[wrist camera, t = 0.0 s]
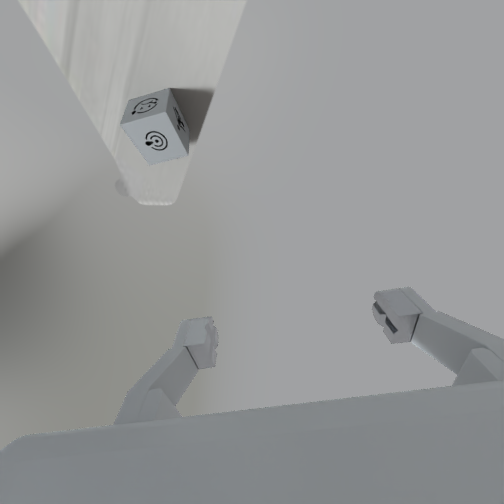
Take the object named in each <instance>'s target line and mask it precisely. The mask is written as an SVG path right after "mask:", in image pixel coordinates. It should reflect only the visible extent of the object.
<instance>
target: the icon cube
mask: <svg viewBox="0 0 504 504" xmlns="http://www.w3.org/2000/svg"><path fill="white" fill-rule="evenodd" d="M120 126H121V127H122V128H123V130H124V131H125V133H126V134H127V135H128V137H129V138H130V139H131V141H132V142H133V144H134V145H135V146H136V148H137V149H138V150H139V152H140V153H141V154H142V156H143V157H144V159H145V160H146V161H147V163H148V164H149V165H153V164H157V163H161V162H165V161H169V160H172V159H176V158H180V157H184V156H188V153H189V138H190V130H189V128H188V126H187V124H186V122H185V120H184V117H183V115H182V113H181V111H180V109H179V107H178V104H177V102H176V100H175V98H174V96H173V94H172V91H171V89H170V88H168V89H164V90H161V91H158V92H155V93H151V94H148V95H145V96H141V97H138V98H135V99H131V100H129V101H128V104H127V106H126V109H125V112H124V115H123V117H122V120H121V123H120Z"/></svg>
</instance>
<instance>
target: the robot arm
mask: <svg viewBox="0 0 504 504" xmlns="http://www.w3.org/2000/svg"><path fill="white" fill-rule="evenodd" d="M374 299H375V300H376V302H375V303H374V304H373V308H372V310H373V315H374V317H375V320H376V321H377V323H378V324H380V325H381V326H383V327H384V330H383V332H384V333H385V335H386V336H387V338H388V339H389V341H390V342H391V344H392V343H393V344H394V343H403V342H411V343H412V344H413V345H415V346H417V347H418V348H419V349H421V350H422V351H424V352H425V353H427V354H428V355H429V356H431V357H433V358H434V359H435V360H437V361H438V362H440V363H441V364H443V365H444V366H446V367H447V368H449V369H450V370H451V371H453V372H454V373H456V374H457V377H456V378H455V380H454V382H453V385H452V386H447V387H439V388H430V389H421V390H413V391H404V392H396V393H387V394H378V395H369V396H360V397H352V398H343V399H335V400H326V401H317V402H309V403H300V404H292V405H283V406H274V407H265V408H257V409H248V410H240V411H231V412H222V413H213V414H205V415H196V416H188V417H182V416H181V415H180V413H179V412H178V411H177V409H176V408H175V406H176V404H177V403H178V401H179V400H180V398H181V397H182V395H183V393H184V392H185V391H186V389H187V387H188V386H189V384H190V383H191V381H192V380H193V378H194V377H195V375H196V374H197V372H198V369H204V368H210V367H215V364H216V357H217V353H216V351H215V349H216V347H217V346H218V332H217V328H216V327H215V326H213V322H214V321H213V319H212V317H203V318H194V319H187V320H182V322H180V325H179V328H178V331H177V334H176V337H175V340H174V343H173V347H172V349H168V351H167V352H166V353H165V354H164V355H163V356H162V357H161V358H160V359H159V360H158V361H157V362H156V363H155V364H154V365H153V366H152V367H151V368H150V369H149V370H148V371H147V372H146V373H145V374H144V375H143V376H142V377H141V378H140V379H139V380H138V381H137V383H136V384H135V385H134V386H133V387H132V388H131V389H130V390H129V391H128V392H127V395H126V397H125V399H124V402H123V404H122V406H121V408H120V411H119V413H118V415H117V418H116V420H115V422H114V424H113V425H109V426H101V427H92V428H83V429H75V430H66V431H57V432H48V433H39V434H30V435H25V436H22V437H19V438H17V439H16V440H14V441H12V442H11V443H10V444H8V445H7V446H6V447H4V448H3V449H2V450H0V504H504V339H502V338H500V337H498V336H495V335H493V334H490V333H488V332H486V331H484V330H481V329H479V328H477V327H475V326H472V325H470V324H468V323H465V322H463V321H461V320H458V319H456V318H453V317H451V316H449V315H447V314H445V313H442V312H440V311H438V312H436V311H435V310H434V309H433V308H432V307H431V306H430V305H429V304H428V303H427V302H426V301H425V300H424V299H423V298H422V297H421V296H420V295H419V294H417V293H416V291H414V290H413V289H412V288H411V287H404V288H398V289H391V290H384V291H378V292H376V293H375V294H374Z"/></svg>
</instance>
